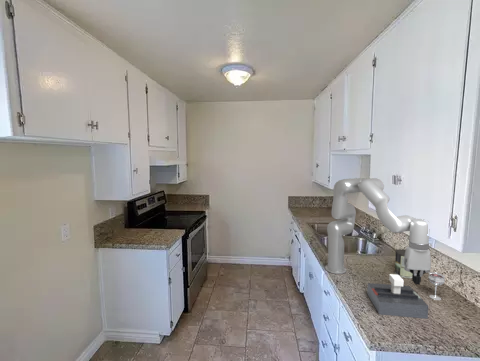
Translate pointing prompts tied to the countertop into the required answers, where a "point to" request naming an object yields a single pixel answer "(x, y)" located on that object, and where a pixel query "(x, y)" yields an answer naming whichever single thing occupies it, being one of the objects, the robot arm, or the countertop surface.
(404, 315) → the slider base
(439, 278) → the wineglass
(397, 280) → the handle
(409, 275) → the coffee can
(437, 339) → the countertop surface
